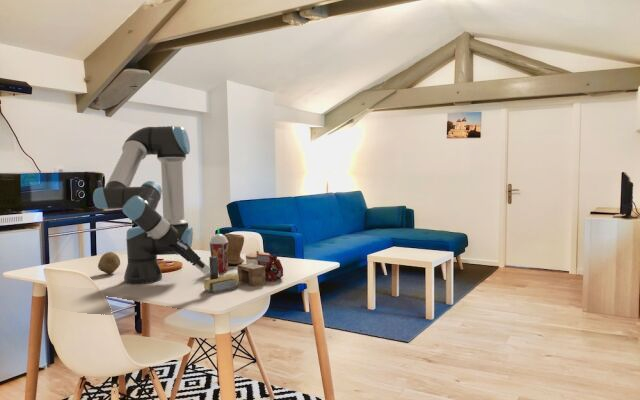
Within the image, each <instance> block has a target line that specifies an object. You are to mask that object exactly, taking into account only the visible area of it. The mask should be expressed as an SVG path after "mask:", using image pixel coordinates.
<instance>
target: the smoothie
mask: <svg viewBox="0 0 640 400" xmlns="http://www.w3.org/2000/svg"><path fill="white" fill-rule="evenodd" d="M224 235H225V234H223V233H220V227H217V233H216V234H214V235H213V236H212V237H211V239H210V241H209V249H210V257H213V256H217V257H218V269H219V274H220V273H221V274H222V273H225V272H227V270H228V268H229V267H228V266H229V264H228V240H227V238H226V237H225V236H224Z"/></svg>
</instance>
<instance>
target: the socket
mask: <svg viewBox="0 0 640 400" xmlns="http://www.w3.org/2000/svg"><path fill="white" fill-rule="evenodd" d="M236 265H237V274H239V284H245V283H248V286H250V287H257V286H262V285H263V286H264V285H266V281H267V279H266V277H265V266H261V265H256V264H252V263H240V264H236Z"/></svg>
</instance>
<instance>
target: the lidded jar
mask: <svg viewBox="0 0 640 400" xmlns="http://www.w3.org/2000/svg"><path fill="white" fill-rule="evenodd" d="M258 254H265V255H271V254H270V253H269V252H260V251H259V250H256V252H251V253H247V254H245V262H246V263H245V264H247V263H252V264H256V265H258V261H257V255H258Z"/></svg>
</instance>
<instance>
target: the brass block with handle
mask: <svg viewBox="0 0 640 400" xmlns="http://www.w3.org/2000/svg"><path fill="white" fill-rule="evenodd" d="M208 258H209V259H208V260H209V261H208V262H209V268H210V269H211V270H210V271H209V276H210V277H207V278H203V287H204V288H203V289H204V290H205V289H208V290H211V289H212V284H213V283H218V282H223V281H228V280H233V279H236V283H237V285H238V284H240V282H239V274H238V273H233V272H232V273H228V274H222V275H220V273H219V269H218V257H217V256H213V257H211V256H209V257H208Z"/></svg>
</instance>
